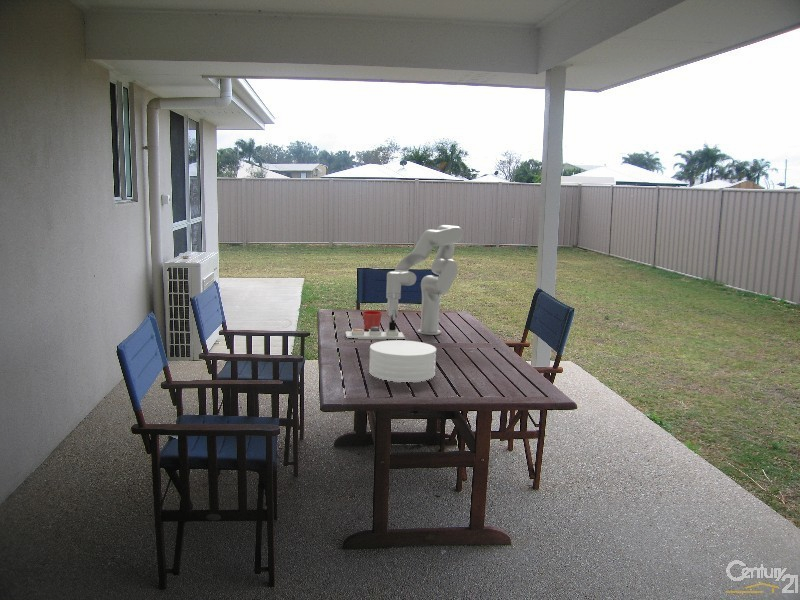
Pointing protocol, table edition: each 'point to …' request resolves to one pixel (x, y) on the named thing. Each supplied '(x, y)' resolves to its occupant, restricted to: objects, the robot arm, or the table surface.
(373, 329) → the charcoal button
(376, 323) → the flower pot
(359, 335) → the button board
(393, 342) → the plate stack
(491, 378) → the table surface
